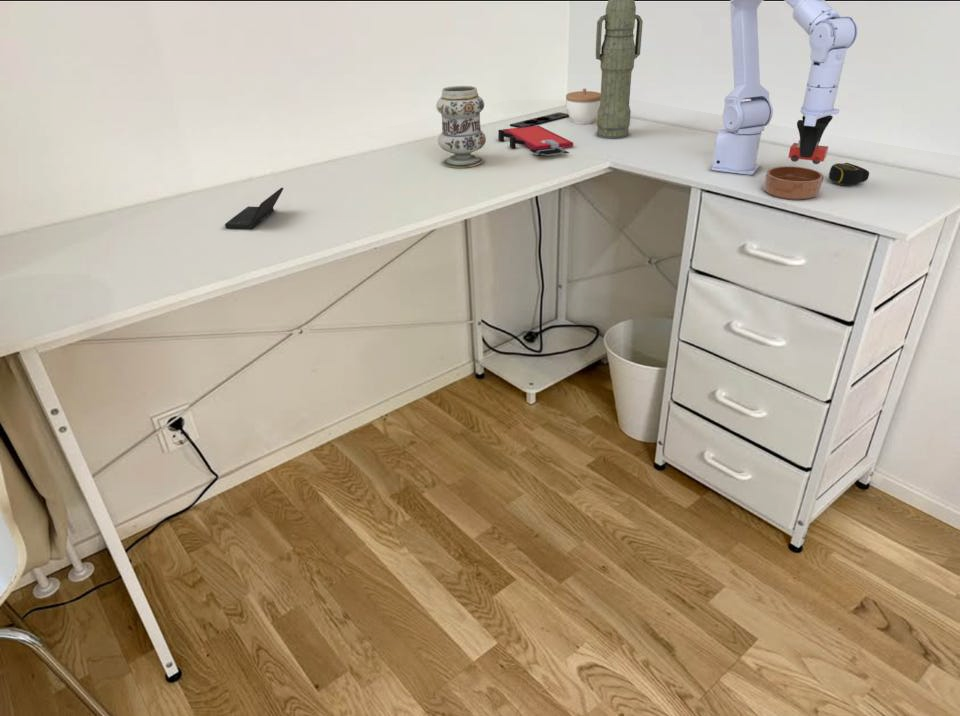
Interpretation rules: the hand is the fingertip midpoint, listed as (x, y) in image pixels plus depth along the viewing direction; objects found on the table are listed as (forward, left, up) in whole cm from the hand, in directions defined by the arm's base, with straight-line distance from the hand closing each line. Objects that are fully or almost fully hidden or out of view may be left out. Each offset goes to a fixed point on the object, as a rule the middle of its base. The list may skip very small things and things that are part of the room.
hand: (807, 154), depth 145 cm
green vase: (-55, +30, -8) cm, 63 cm away
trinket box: (-69, +41, -8) cm, 80 cm away
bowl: (-2, 0, -8) cm, 8 cm away
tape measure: (+8, +12, -8) cm, 16 cm away
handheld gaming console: (-96, -65, -9) cm, 116 cm away
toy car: (0, 0, -1) cm, 1 cm away
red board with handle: (-70, +12, -8) cm, 71 cm away
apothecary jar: (-79, -11, -8) cm, 80 cm away
